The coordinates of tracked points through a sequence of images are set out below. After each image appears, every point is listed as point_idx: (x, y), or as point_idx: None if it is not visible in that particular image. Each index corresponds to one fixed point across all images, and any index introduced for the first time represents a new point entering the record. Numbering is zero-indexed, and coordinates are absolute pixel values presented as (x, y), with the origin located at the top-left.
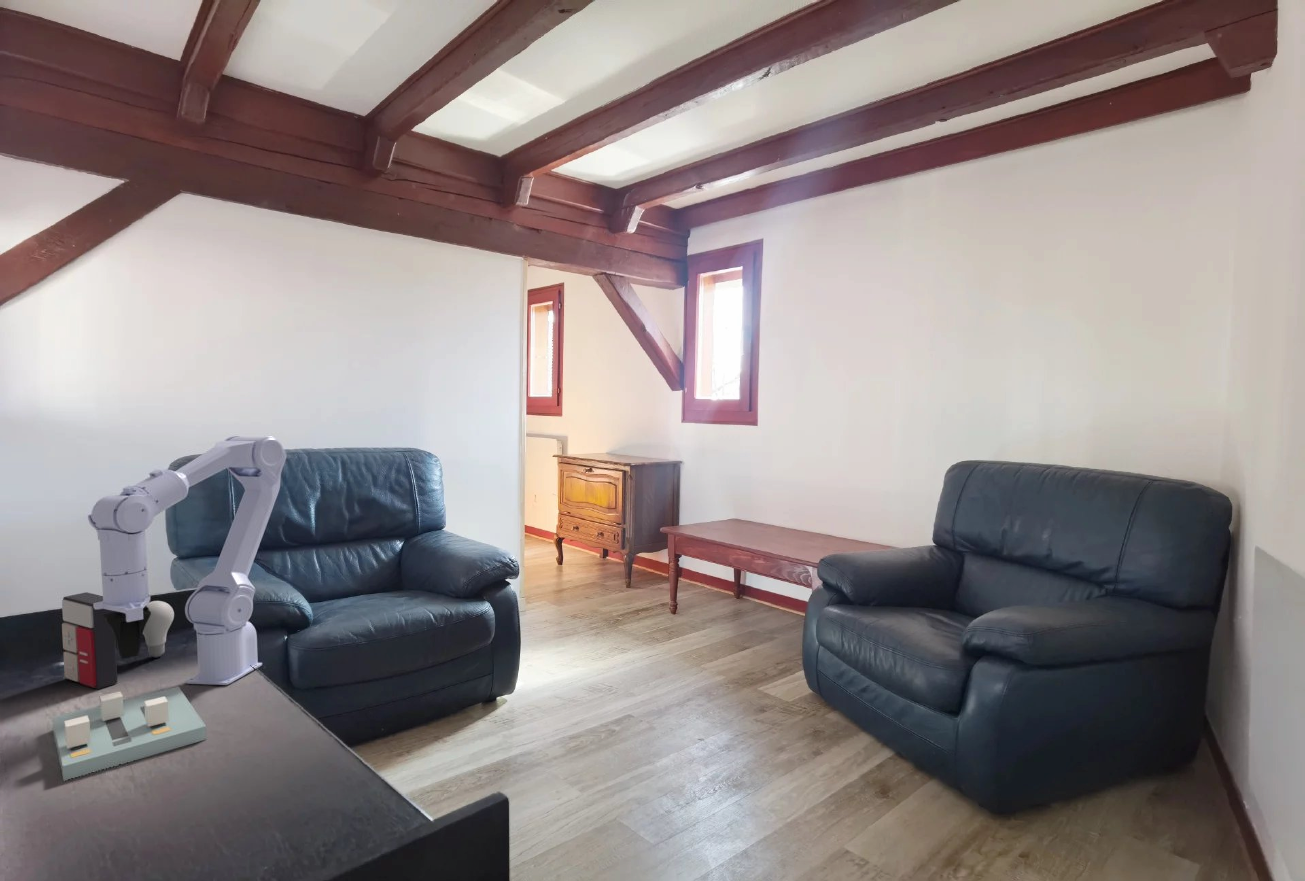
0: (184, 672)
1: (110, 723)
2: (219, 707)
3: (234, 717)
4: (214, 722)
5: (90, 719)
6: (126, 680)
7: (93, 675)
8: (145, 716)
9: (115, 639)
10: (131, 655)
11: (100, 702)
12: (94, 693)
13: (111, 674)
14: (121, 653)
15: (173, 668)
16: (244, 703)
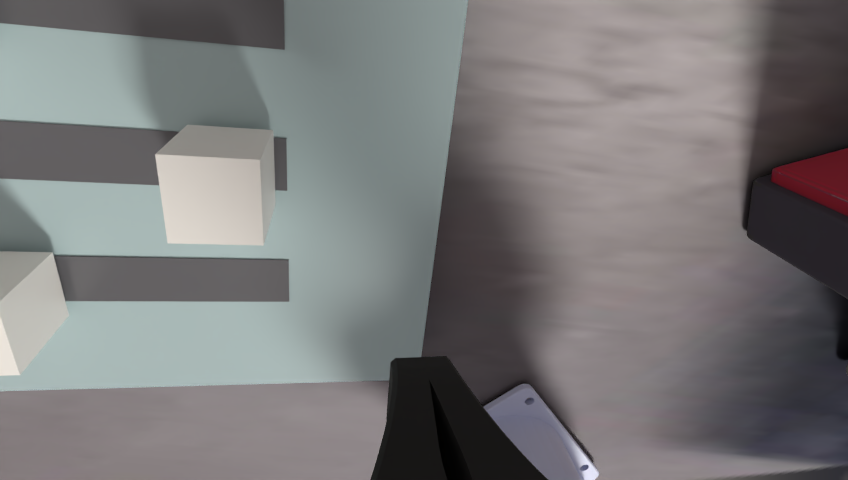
0: (639, 389)
1: (162, 145)
2: (222, 418)
3: (89, 436)
4: (84, 393)
5: (293, 90)
6: (745, 260)
7: (810, 189)
8: (20, 265)
9: (471, 443)
10: (388, 404)
11: (234, 149)
12: (727, 163)
13: (776, 238)
14: (394, 383)
15: (706, 372)
16: (202, 467)
